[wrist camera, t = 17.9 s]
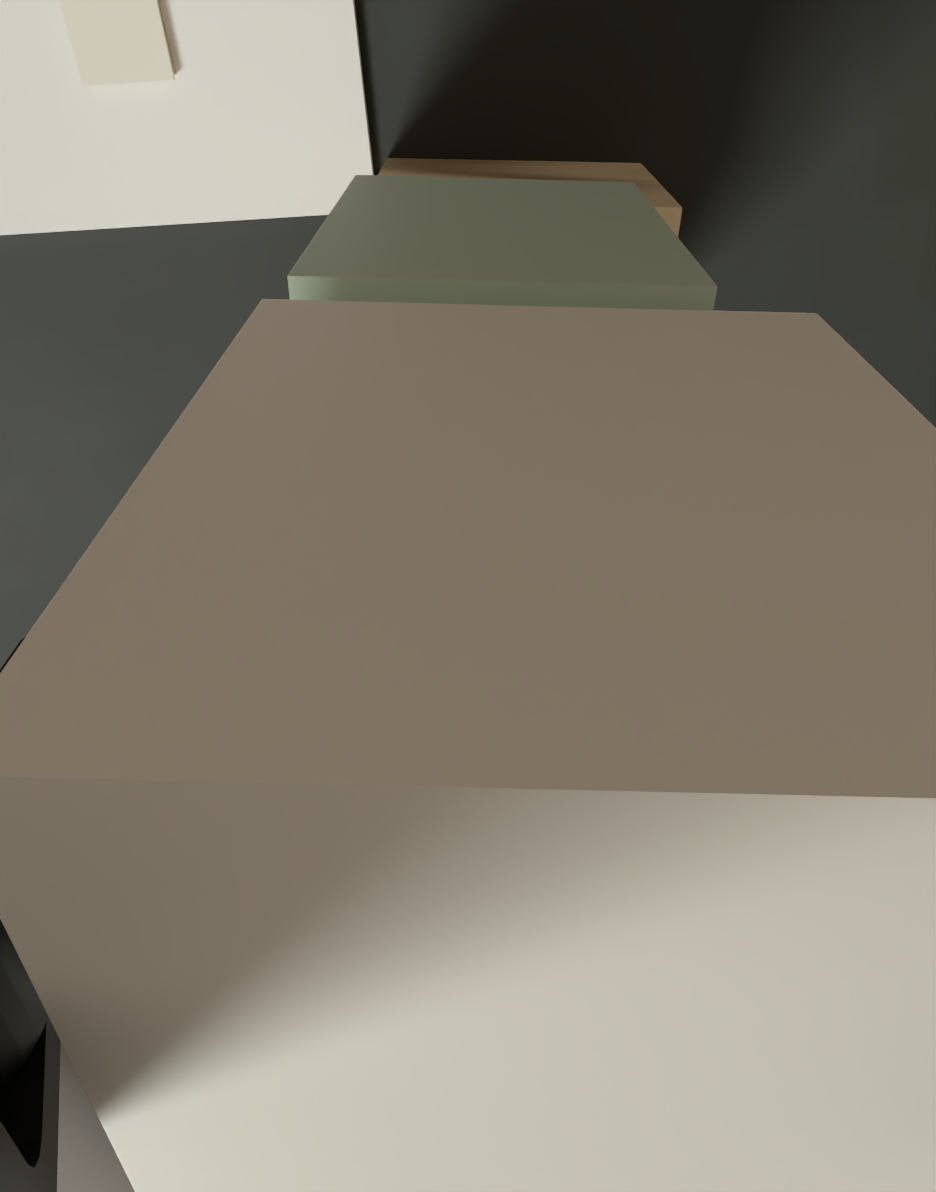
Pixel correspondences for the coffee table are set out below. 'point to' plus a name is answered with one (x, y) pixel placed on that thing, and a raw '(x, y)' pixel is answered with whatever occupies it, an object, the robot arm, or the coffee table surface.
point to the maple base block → (544, 176)
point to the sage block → (499, 246)
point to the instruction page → (177, 111)
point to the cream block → (497, 764)
